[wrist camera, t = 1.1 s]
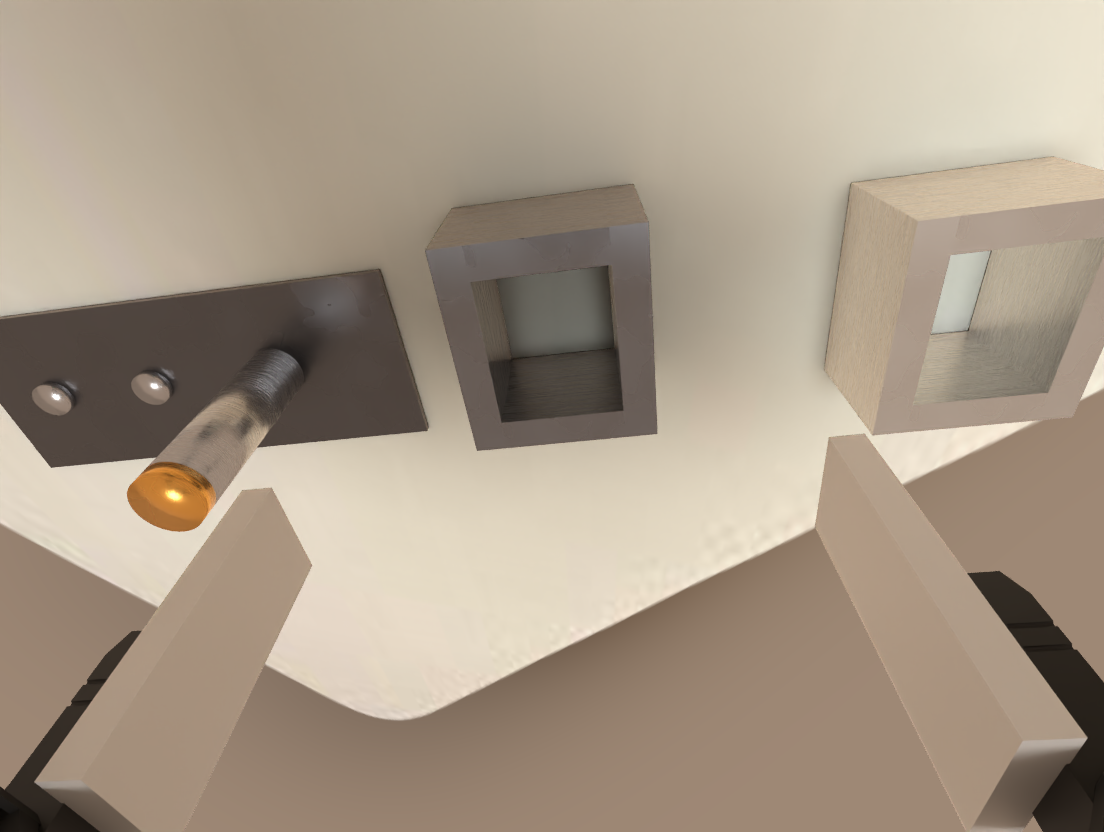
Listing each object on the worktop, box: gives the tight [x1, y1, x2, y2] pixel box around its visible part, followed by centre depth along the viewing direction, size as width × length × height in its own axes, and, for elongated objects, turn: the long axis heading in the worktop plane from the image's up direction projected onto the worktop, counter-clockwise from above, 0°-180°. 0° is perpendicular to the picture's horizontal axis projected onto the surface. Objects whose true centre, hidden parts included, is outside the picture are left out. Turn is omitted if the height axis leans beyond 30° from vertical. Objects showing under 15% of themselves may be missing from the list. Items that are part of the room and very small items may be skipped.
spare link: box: [824, 157, 1104, 435], centre depth 21 cm, size 8×7×5 cm
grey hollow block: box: [425, 184, 657, 451], centre depth 22 cm, size 8×7×5 cm
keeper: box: [0, 269, 429, 532], centre depth 23 cm, size 8×20×9 cm, turn 98°
